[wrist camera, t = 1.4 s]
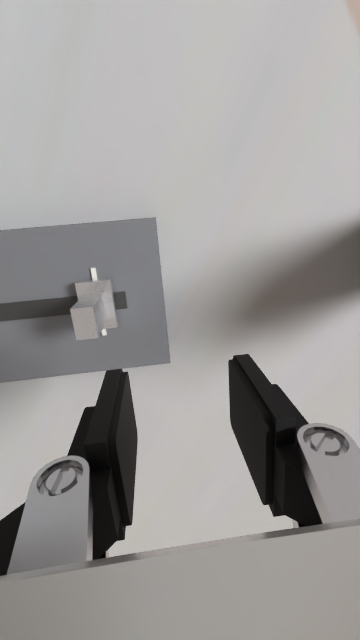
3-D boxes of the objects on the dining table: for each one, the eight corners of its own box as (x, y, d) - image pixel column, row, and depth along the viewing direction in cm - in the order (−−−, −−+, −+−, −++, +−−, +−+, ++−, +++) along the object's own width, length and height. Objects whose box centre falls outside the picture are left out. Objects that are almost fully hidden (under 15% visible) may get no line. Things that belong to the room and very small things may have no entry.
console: (-142, 242, 25) (-193, 245, 22) (155, 218, 27) (156, 216, 23) (-84, 383, 30) (-118, 406, 26) (169, 354, 31) (171, 372, 28)
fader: (76, 281, 26) (56, 296, 20) (111, 278, 26) (100, 292, 20) (86, 328, 27) (69, 353, 22) (118, 324, 27) (109, 349, 22)
